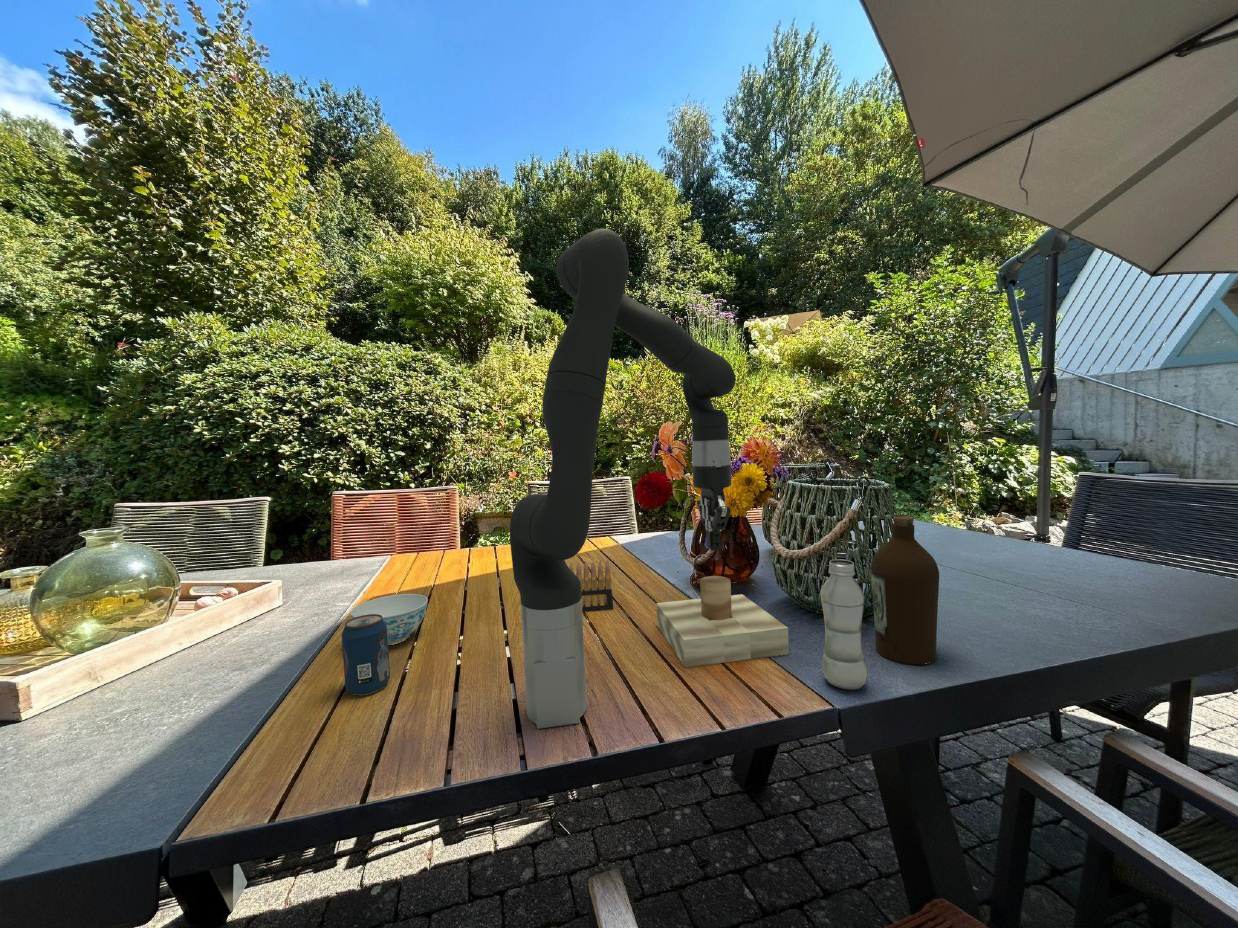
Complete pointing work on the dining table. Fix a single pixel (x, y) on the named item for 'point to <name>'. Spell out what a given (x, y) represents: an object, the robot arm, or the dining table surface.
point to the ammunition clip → (595, 587)
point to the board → (721, 632)
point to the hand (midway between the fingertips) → (714, 549)
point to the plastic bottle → (843, 627)
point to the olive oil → (905, 597)
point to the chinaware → (396, 613)
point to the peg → (716, 597)
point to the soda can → (365, 654)
